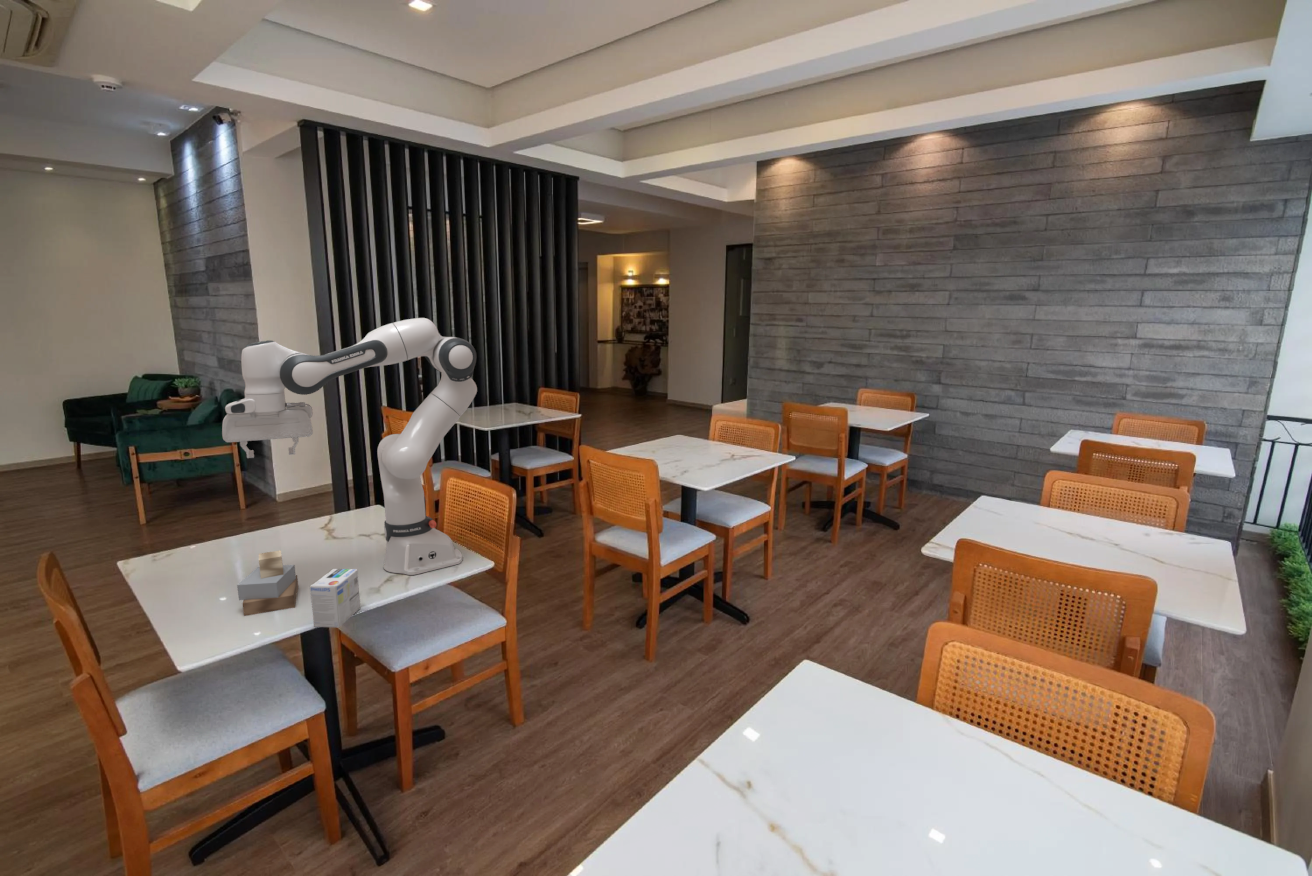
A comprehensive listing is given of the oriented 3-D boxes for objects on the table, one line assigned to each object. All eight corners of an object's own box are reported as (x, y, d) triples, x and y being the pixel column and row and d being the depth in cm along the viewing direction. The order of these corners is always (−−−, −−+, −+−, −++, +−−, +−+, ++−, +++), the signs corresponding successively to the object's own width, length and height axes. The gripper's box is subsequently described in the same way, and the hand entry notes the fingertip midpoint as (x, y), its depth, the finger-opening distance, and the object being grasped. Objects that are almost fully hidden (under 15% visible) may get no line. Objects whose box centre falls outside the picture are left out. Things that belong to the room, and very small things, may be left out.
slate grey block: (296, 578, 170) (294, 564, 170) (278, 597, 159) (276, 582, 158) (259, 580, 169) (258, 566, 168) (239, 600, 157) (237, 585, 156)
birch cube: (282, 567, 167) (280, 550, 166) (283, 574, 163) (281, 556, 162) (260, 571, 165) (258, 553, 164) (260, 578, 160) (258, 560, 159)
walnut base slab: (298, 588, 173) (297, 575, 173) (295, 609, 161) (293, 595, 160) (251, 596, 169) (250, 582, 168) (244, 618, 156) (242, 603, 155)
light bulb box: (336, 607, 161) (332, 567, 159) (362, 608, 161) (358, 568, 159) (312, 627, 151) (308, 585, 149) (340, 628, 150) (336, 586, 148)
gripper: (311, 400, 171) (316, 450, 173) (221, 404, 161) (227, 457, 164) (311, 403, 165) (316, 454, 168) (217, 407, 156) (224, 462, 158)
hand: (271, 455), depth 166 cm, fingers open, 8 cm apart
